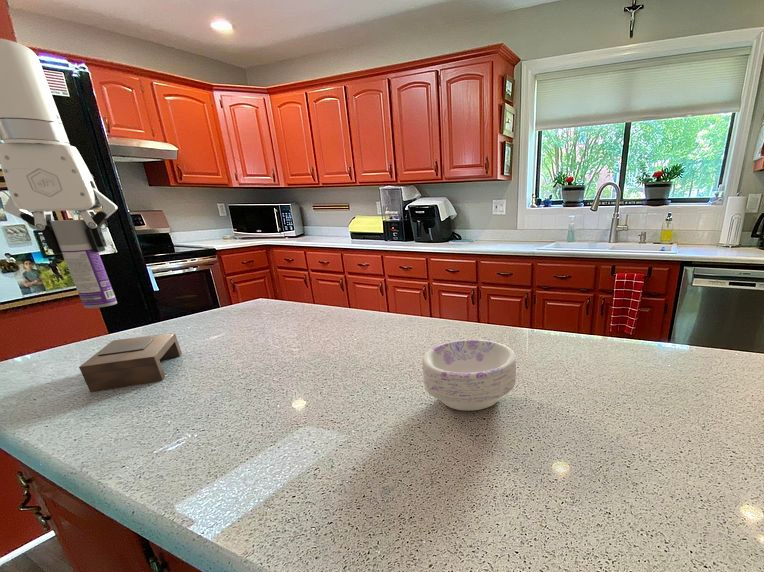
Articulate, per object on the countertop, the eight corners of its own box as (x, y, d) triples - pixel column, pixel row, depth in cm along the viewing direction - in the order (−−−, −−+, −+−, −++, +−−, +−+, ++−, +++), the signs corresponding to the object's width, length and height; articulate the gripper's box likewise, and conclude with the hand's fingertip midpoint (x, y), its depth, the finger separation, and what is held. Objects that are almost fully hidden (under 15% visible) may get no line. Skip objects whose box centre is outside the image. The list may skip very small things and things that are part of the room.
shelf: (89, 392, 72) (78, 365, 70) (121, 362, 86) (112, 339, 84) (162, 380, 76) (153, 355, 74) (182, 353, 90) (174, 331, 88)
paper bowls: (450, 431, 57) (447, 382, 54) (411, 391, 69) (407, 349, 66) (534, 404, 64) (536, 359, 61) (485, 372, 76) (484, 333, 73)
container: (108, 301, 77) (77, 219, 71) (123, 303, 75) (92, 219, 69) (78, 307, 73) (42, 221, 67) (93, 309, 71) (58, 221, 65)
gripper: (-57, 129, 57) (3, 258, 64) (92, 134, 63) (132, 251, 70) (-22, 137, 64) (29, 253, 70) (110, 140, 70) (145, 247, 77)
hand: (80, 251), depth 70 cm, fingers closed on container, 4 cm apart
